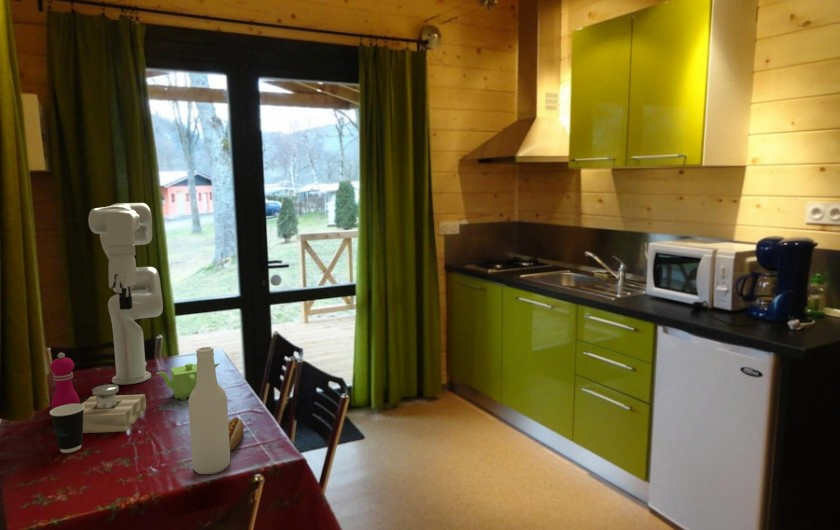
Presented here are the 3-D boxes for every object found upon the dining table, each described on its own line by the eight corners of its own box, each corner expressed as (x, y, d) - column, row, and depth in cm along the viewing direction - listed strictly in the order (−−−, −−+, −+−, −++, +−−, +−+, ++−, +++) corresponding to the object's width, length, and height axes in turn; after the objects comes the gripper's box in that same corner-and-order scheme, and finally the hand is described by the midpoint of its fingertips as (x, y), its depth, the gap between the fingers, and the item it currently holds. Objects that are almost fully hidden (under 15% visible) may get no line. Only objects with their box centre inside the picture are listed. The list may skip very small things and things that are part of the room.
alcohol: (225, 475, 138) (218, 353, 134) (187, 476, 137) (179, 354, 133) (234, 458, 147) (228, 343, 143) (198, 459, 146) (191, 344, 142)
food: (226, 432, 162) (225, 415, 162) (246, 431, 163) (245, 414, 162) (215, 455, 149) (214, 436, 148) (237, 453, 149) (236, 435, 149)
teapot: (157, 400, 187) (155, 369, 186) (182, 387, 200) (180, 357, 199) (200, 403, 184) (197, 371, 183) (222, 389, 197) (220, 359, 196)
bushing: (101, 417, 174) (98, 384, 172) (124, 416, 174) (122, 383, 173) (90, 426, 167) (87, 392, 166) (115, 425, 168) (112, 391, 166)
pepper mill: (67, 422, 170) (61, 356, 167) (46, 420, 171) (40, 355, 169) (86, 413, 177) (80, 350, 174) (66, 411, 179) (60, 348, 176)
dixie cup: (50, 457, 148) (46, 416, 146) (56, 445, 155) (52, 406, 153) (86, 452, 151) (82, 411, 149) (89, 440, 158) (86, 401, 156)
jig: (92, 412, 178) (91, 396, 177) (146, 409, 179) (145, 394, 179) (66, 433, 162) (64, 416, 161) (125, 431, 164) (124, 414, 163)
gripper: (119, 248, 185) (123, 304, 188) (98, 253, 170) (103, 314, 173) (143, 248, 186) (147, 303, 188) (124, 253, 171) (129, 313, 174)
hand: (126, 308), depth 181 cm, fingers closed
